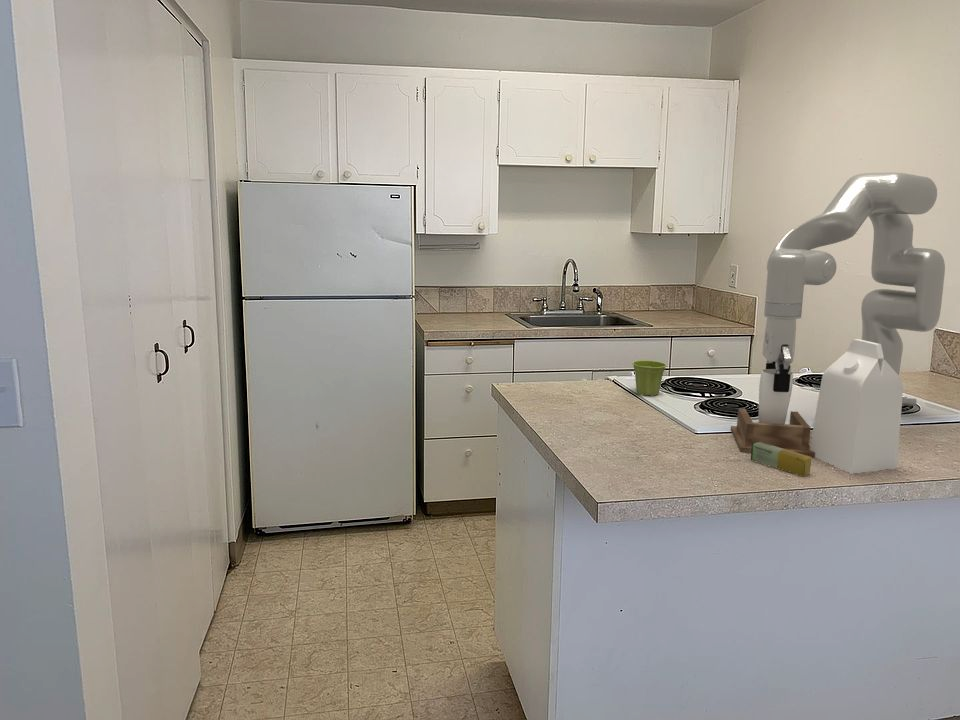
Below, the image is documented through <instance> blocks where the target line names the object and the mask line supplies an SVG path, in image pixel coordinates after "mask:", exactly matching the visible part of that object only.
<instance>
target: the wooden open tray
mask: <svg viewBox="0 0 960 720" xmlns="http://www.w3.org/2000/svg"><path fill="white" fill-rule="evenodd" d="M789 417H790V418H789V424H787V423H785V424H772V423H758V422H755V421H753V419H752V418H751V416H750V415H749V413H748V412H747V409H746V408H742V407H739V408H737V418H736V420H737V421H736V426H735V425H730V432H731V434H732V436H733V438H734V441H735V442H736V443H735V444H736V445H737V447H738V449H739V452H740V453H749V454H751V448H752V443H754V442H757V441H760V442H763V443H766V444H770V445H773V446H776V447H780V448H783V449H786V450H790V451H793V452H796V453H800V454H803V455H806V456H810V457H812V458H815V452H813V451H811V450H810V441H811V439H810V438H811V430H812V428H811V426H810V425H809V424H808V423H807V421H806V420H805V419H804V418H803V416H802V415H801V414H800V413H799V411H792V410H791V411H790V415H789Z"/></svg>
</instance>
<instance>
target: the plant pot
mask: <svg viewBox="0 0 960 720" xmlns="http://www.w3.org/2000/svg"><path fill="white" fill-rule="evenodd" d="M631 364H632V366H633V369H634V374H635V376H634V377H635V390H636V394H638V395H641V396H652V397H655V396H658V395H659V394H660V388H661V384H662V380H663V376H664V372H665V369H666V368H667V363H664V362H662V361H658V360H646V359H645V360H643V359H642V360H634V361H632V363H631ZM654 395H655V396H654Z"/></svg>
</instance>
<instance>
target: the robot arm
mask: <svg viewBox="0 0 960 720" xmlns="http://www.w3.org/2000/svg"><path fill="white" fill-rule="evenodd" d="M937 198H938V188H937V186H936V183H935V181H934V180H932V179H931V178H929V177H926V176H921V175H917V174H911V173H910V174H909V173H906V172H905V173H903V172H866V173H865V172H864V173H858V174H855V175H853V176H852V177H850V178H848V179H847V180H846V182H845V183H844V184H843V186H842V187H840V189H839V191H838V192H837V194H836V195H835V196H834V197H833V199H832V200H831V201H830V203H829V204H828V205H827V207H826V208H825V209H824V211H823V212H822V213H821V214H819V215H816V216H815V217H813V218H811V219H809V220H807V221H804V222H802V223H800V224H799V225H797V226H796V227H794V228H792V229H791V230H789V231H788V232H787V233H785V234H784V236H782V237H781V239H780V240H779V242H778V243H777V244H776V245H775V247H774V248H773V250H772V251H771V253H770V255H769V257H768V259H767V263H766V272H767V274H766V285H765V286H766V287H765V288H766V289H765V297H764V298H765V299H764V300H765V301H764V313H763V316H764V317H765V318H766V323H765V331H764V336H763V344H762V345H763V347H762V356H763V357H764V358H765V359H766V363H765V369H776V373H774V384H773V391H774V392H789V387H790V376H791V373H792V371H791V367H792V366H791V364H792V363H793V362H794V358H795V357H794V356H795V349H796V346H795V345H796V331H797V320H799V319H802V311H803V300H804V292H805V291H804V290H805V285H809V286H822V285H825V284H826V283H827V284H828V282H830V281H831V280H832V279H833V277H834V276H835V274H836V272H837V262H836V259H835V258H834V256H833V255H832V254H831V253H828V252H826V251H821V250H815V249H817V248H820V247H826V246H829V245H833V244H838V243H841V242H843V241H844V242H845V241H846V240H849V239H850V238H852V237H854V236H855V235H856V234H857V232H858V231H859V229H860V228H861V227H862V225H863V224H864V222H865V221H866V220H867V219H868V218H869V220H870V221H871V224H872V228H873V241H872V255H871V269H870V270H871V273H870V274H871V277H872V279H873V281H874V282H876V283H878V284H882V285H889V286H899V287H908V288H914V290H915V291H907V290H899V289H898V290H897V289H890V288H889V289H888V288H886V289H885V288H884V289H883V288H881V289H873V290H872V291H870V292H868V293H867V294H865V295H864V297H863V299H862V301H861V309H860V310H861V324H862V328H861V329H862V331H861V340H865V341H869V342H873V343H878V344H881V347H882V352H883V356H884V360H885V361H886V362H887V363H888V364H889V365H890V366H891V367H892V369H893V370H894V371H895V372H896V373H897V374H898V375H899V376H900V371H901V362H902V356H903V349H904V348H903V347H904V343H903V341H902V338H901V335H900V333H899V332H898V330H903V331H911V332H920V333H921V332H923V333H924V332H931V331H932V330H934V329H935V327H936V326H937V325H938V322H939V320H940V317H941V308H942V302H943V293H944V285H945V284H944V282H945V274H946V273H945V272H946V266H945V264H946V263H945V259H944V257H943V254H941V252H939V251H938V250H936V249H933V248H926V247H923V248H920V247H914V246H913V237H914V225H913V222H912V220H911V218H910V215H914V216H915V215H916V216H917V215H924V214H926V213H928V212H929V211H931V209H932V208H933V207H934V205H935V204H936V201H937ZM904 406H908V407H910V406H911V407H916V406H917V399H916V398H911V397H907V396H902V407H904Z"/></svg>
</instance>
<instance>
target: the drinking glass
mask: <svg viewBox="0 0 960 720" xmlns="http://www.w3.org/2000/svg"><path fill="white" fill-rule="evenodd" d="M774 373H776V369H766V368H765V369H761V372H760V377H759V385H758V386H759V389H758V390H759V392H758V422H757V423H772V424H786V420H787V416H788V410H789V407H790V401H791V396H792V390H793V385H794V383H793V382H794V373H793V372H791V376H790V387H789V392H774V391H773V384H774Z"/></svg>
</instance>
